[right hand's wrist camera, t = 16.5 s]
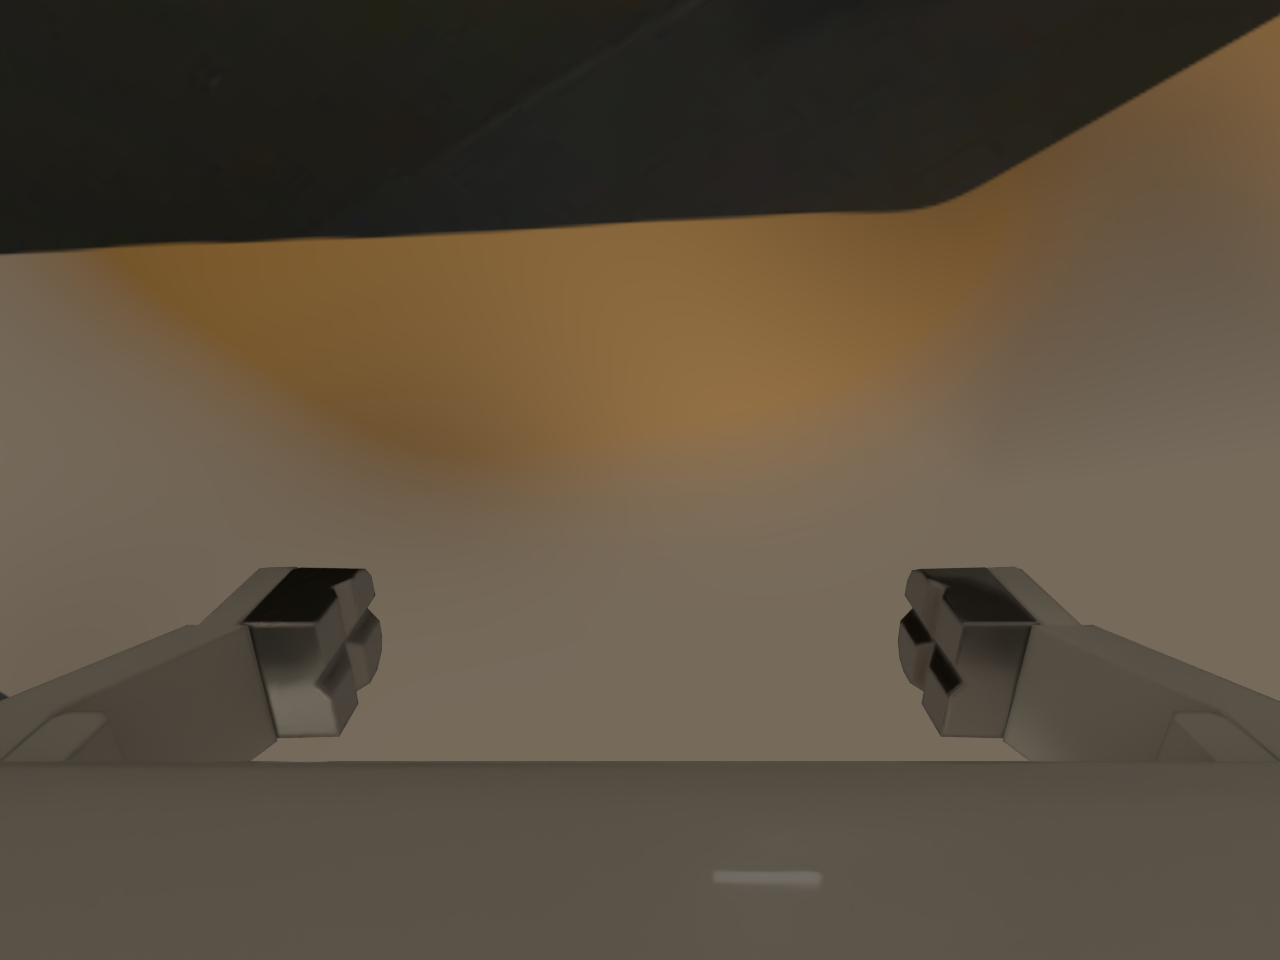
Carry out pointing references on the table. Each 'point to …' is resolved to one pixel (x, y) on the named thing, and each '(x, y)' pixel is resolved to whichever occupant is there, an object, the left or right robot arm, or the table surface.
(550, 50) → the table surface
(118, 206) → the table surface
